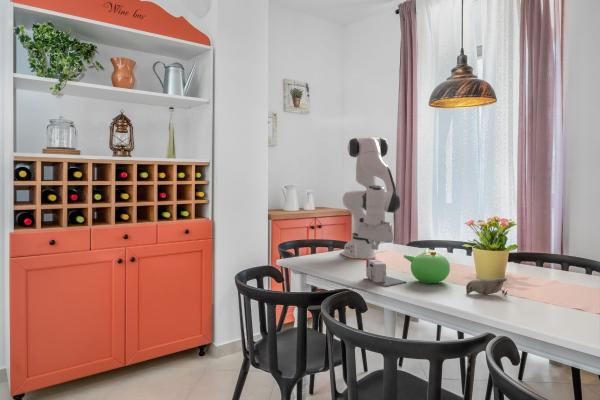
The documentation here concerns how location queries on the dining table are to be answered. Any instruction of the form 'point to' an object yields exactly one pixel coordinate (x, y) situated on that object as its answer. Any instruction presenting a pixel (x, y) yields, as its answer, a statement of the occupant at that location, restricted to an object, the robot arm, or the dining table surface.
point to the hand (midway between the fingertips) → (374, 249)
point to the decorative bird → (486, 286)
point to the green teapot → (429, 266)
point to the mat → (387, 281)
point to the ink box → (376, 270)
